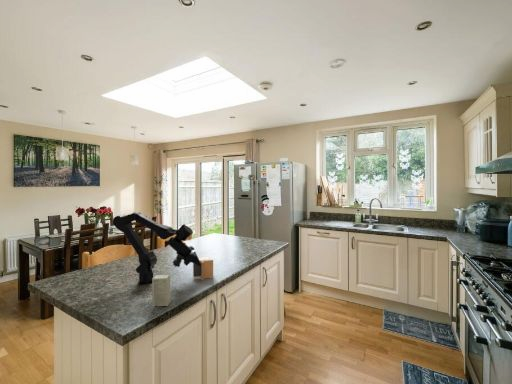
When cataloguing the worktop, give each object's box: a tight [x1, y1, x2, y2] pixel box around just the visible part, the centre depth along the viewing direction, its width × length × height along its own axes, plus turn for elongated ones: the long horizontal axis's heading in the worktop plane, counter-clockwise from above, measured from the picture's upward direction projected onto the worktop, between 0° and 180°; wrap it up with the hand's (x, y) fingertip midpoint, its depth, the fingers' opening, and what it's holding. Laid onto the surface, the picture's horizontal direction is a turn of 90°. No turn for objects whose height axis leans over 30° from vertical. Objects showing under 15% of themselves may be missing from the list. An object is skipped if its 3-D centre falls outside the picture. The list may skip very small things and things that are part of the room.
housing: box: [192, 256, 211, 280], centre depth 137 cm, size 10×6×10 cm, turn 106°
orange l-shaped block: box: [200, 259, 214, 281], centre depth 133 cm, size 6×4×10 cm, turn 106°
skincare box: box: [151, 274, 171, 308], centre depth 104 cm, size 6×4×12 cm
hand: (200, 265), depth 131 cm, fingers closed
